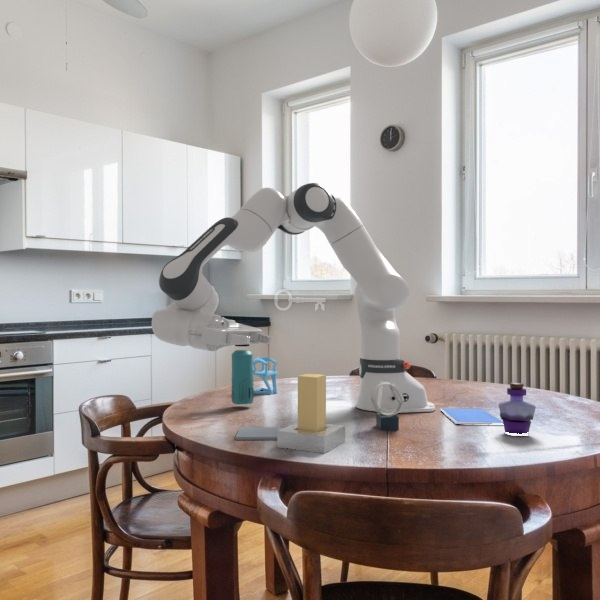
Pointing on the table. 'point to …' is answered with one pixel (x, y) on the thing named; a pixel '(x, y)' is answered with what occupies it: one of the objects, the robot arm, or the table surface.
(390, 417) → the glass trophy
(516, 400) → the potion bottle
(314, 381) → the ochre peg
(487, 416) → the tablet computer
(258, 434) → the slate mat
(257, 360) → the chair
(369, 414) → the table surface
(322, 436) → the socket block
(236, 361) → the beverage bottle
